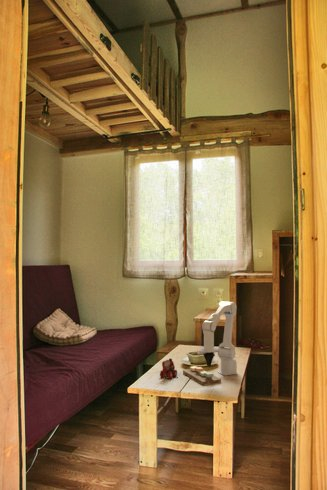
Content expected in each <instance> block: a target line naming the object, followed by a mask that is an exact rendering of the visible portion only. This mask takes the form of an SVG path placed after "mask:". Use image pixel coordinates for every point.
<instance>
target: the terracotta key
mask: <svg viewBox="0 0 327 490" xmlns="http://www.w3.org/2000/svg"><path fill="white" fill-rule="evenodd" d="M203 370H204V368H203V367H201V366H196V367H195V371H196V374H199V372H202V371H203Z"/></svg>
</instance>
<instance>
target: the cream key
mask: <svg viewBox="0 0 327 490" xmlns="http://www.w3.org/2000/svg"><path fill="white" fill-rule="evenodd" d="M195 367H197V365H196V366H195V365H193V366H190V367H189V369H190V370H192V371H193V372H194V371H195Z"/></svg>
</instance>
